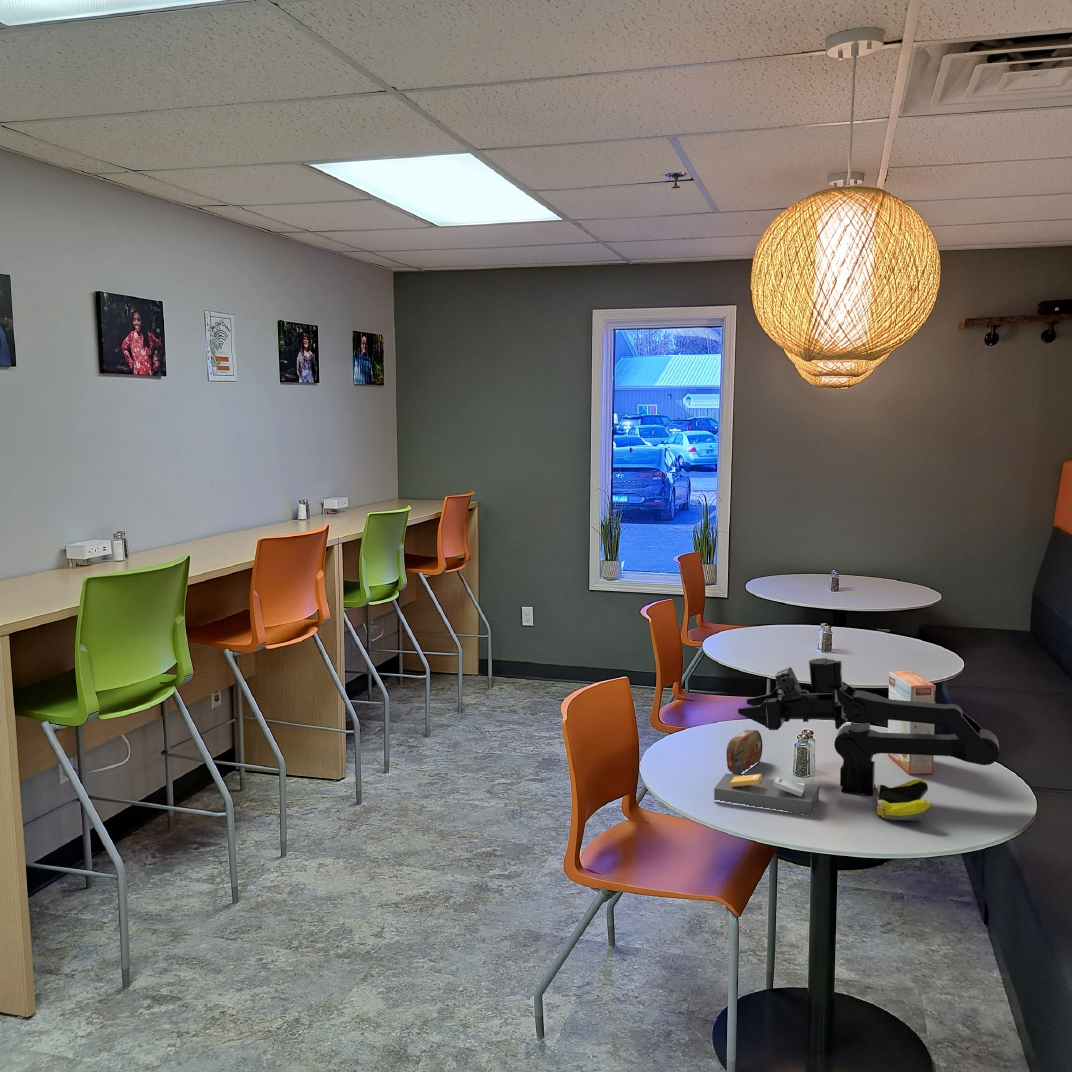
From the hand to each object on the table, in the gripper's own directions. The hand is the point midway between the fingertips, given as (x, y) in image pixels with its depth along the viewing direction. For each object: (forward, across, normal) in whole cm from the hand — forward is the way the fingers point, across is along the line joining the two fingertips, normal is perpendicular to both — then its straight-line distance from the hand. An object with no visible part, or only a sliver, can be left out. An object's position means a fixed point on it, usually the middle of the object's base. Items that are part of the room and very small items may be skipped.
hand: (742, 706), depth 213 cm
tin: (+2, -5, +16) cm, 17 cm away
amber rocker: (-3, +15, +12) cm, 19 cm away
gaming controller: (-33, +10, +20) cm, 40 cm away
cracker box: (-33, -21, +19) cm, 44 cm away
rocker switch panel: (-6, +13, +17) cm, 23 cm away
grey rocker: (-12, +15, +13) cm, 23 cm away
